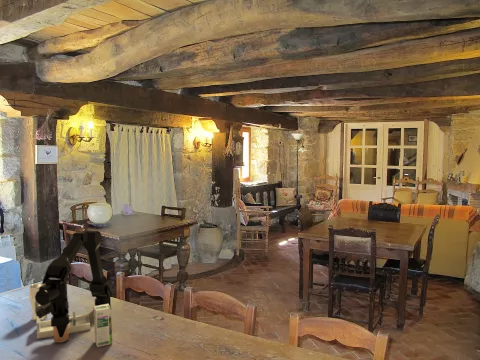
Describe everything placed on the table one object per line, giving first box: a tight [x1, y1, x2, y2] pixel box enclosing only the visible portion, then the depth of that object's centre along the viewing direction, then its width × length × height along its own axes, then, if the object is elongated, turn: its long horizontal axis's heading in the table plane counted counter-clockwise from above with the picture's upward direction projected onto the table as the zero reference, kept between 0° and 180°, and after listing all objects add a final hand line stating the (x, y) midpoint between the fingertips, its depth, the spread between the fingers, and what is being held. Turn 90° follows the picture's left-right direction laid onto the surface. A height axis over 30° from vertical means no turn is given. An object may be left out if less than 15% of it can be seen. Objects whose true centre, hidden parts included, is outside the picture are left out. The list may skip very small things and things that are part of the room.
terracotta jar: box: [53, 325, 70, 343], centre depth 162 cm, size 6×6×8 cm
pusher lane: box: [36, 313, 91, 340], centre depth 173 cm, size 20×11×6 cm, turn 113°
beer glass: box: [29, 282, 48, 322], centre depth 183 cm, size 7×7×15 cm
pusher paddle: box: [69, 311, 76, 326], centre depth 174 cm, size 4×8×4 cm, turn 23°
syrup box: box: [92, 304, 113, 348], centre depth 161 cm, size 6×6×14 cm
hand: (61, 333), depth 162 cm, fingers closed on terracotta jar, 5 cm apart
